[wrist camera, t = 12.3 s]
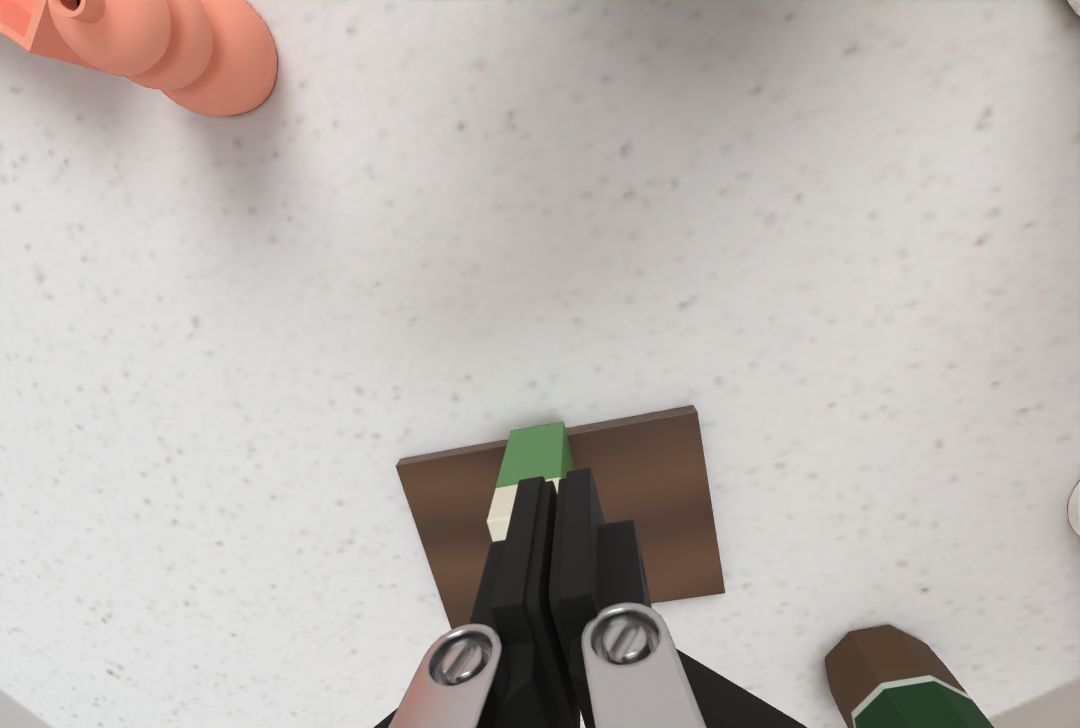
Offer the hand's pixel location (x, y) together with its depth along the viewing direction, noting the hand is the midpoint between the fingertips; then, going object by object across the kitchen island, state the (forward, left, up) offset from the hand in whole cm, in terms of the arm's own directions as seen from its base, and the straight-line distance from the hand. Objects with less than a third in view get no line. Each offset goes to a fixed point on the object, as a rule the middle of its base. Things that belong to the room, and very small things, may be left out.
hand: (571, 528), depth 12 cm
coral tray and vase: (-23, -20, -22) cm, 37 cm away
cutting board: (+14, -4, -22) cm, 26 cm away
